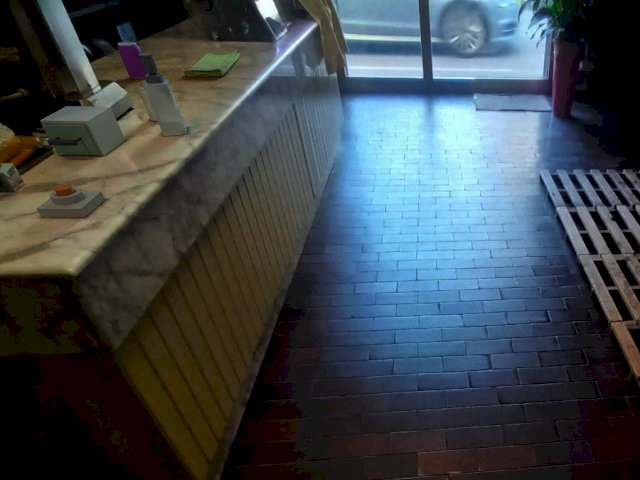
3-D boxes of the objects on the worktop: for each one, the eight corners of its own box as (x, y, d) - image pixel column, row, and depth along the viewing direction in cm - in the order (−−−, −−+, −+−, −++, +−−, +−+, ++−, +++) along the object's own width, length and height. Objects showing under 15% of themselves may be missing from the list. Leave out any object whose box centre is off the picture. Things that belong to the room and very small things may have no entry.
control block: (85, 217, 125) (76, 201, 122) (41, 217, 124) (31, 201, 121) (105, 199, 132) (97, 184, 129) (64, 199, 131) (55, 184, 128)
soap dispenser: (186, 125, 173) (158, 49, 158) (186, 134, 168) (156, 56, 152) (165, 127, 171) (134, 50, 156) (163, 136, 166) (131, 57, 150)
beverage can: (145, 73, 217) (131, 40, 209) (154, 77, 214) (141, 43, 206) (126, 77, 212) (111, 43, 204) (135, 80, 209) (121, 46, 201)
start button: (70, 197, 124) (66, 190, 123) (54, 197, 124) (50, 190, 123) (78, 191, 127) (74, 184, 126) (62, 191, 126) (58, 184, 125)
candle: (146, 120, 176) (132, 87, 169) (157, 115, 180) (144, 83, 173) (161, 121, 175) (148, 89, 168) (171, 117, 179) (159, 85, 172)
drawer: (90, 159, 148) (75, 131, 142) (48, 159, 147) (32, 130, 141) (118, 139, 160) (105, 112, 154) (80, 138, 159) (65, 111, 153)
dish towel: (184, 77, 215) (181, 68, 213) (206, 57, 241) (204, 49, 238) (223, 77, 218) (220, 68, 215) (241, 57, 243) (238, 49, 241)
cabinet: (104, 155, 152) (86, 121, 146) (59, 155, 151) (39, 120, 145) (125, 139, 162) (110, 106, 155) (83, 139, 161) (66, 106, 154)
